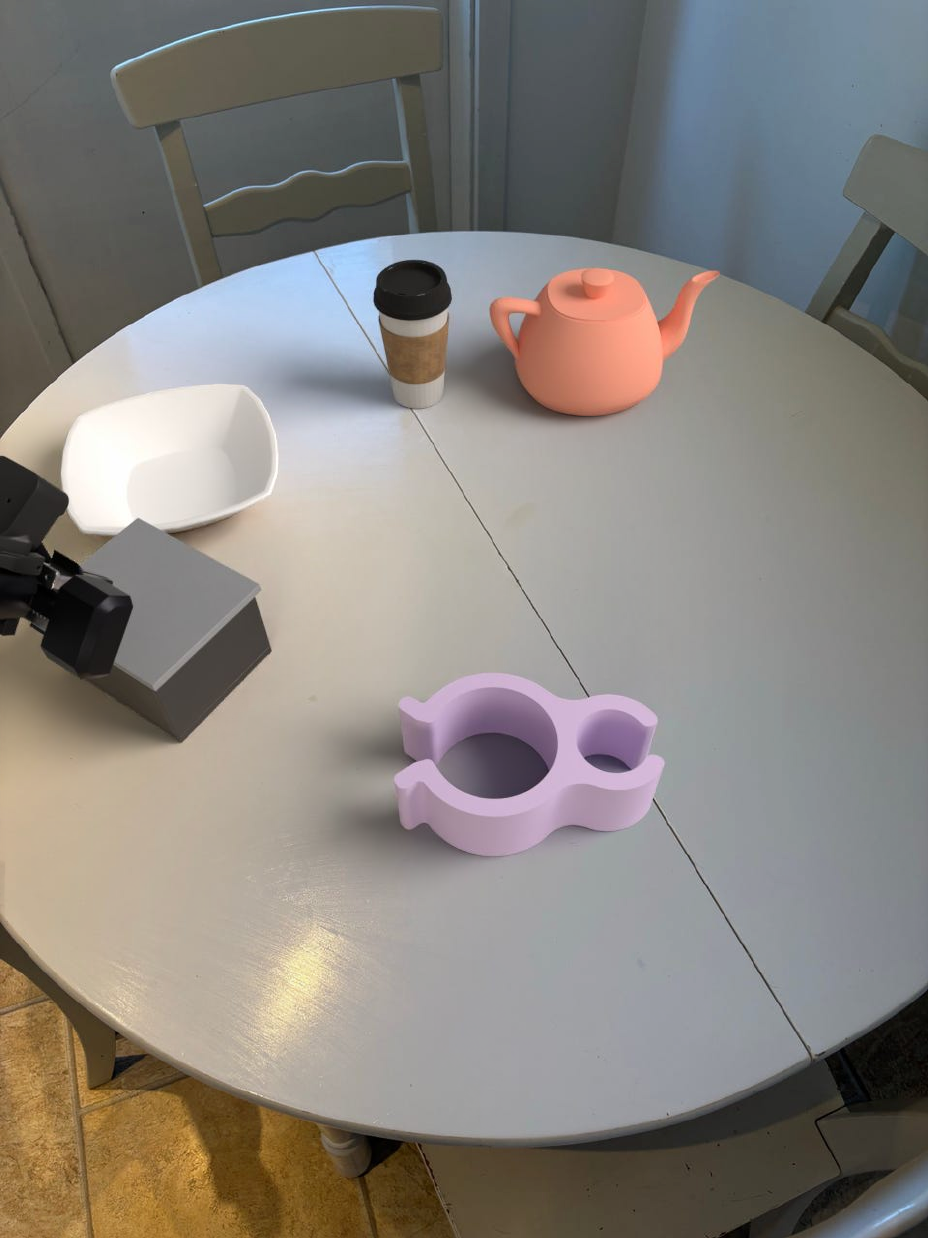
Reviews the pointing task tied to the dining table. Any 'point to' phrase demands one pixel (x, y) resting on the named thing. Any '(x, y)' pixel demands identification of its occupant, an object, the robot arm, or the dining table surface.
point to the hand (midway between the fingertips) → (108, 585)
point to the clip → (554, 734)
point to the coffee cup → (414, 329)
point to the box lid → (167, 599)
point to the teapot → (593, 339)
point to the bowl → (169, 459)
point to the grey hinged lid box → (196, 677)
